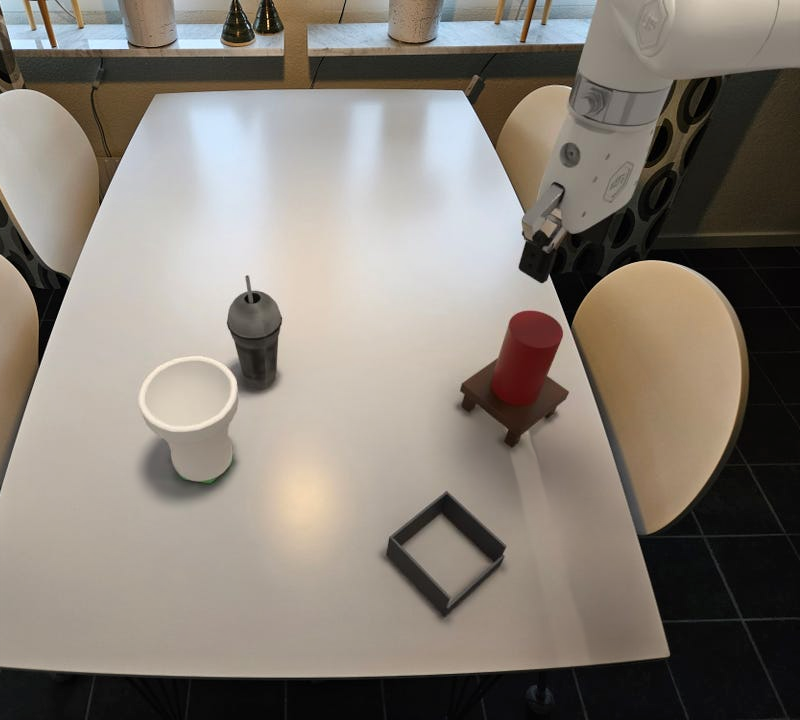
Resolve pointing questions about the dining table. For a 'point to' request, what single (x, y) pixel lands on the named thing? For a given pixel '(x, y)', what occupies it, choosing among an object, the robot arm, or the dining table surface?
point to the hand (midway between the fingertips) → (561, 256)
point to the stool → (507, 414)
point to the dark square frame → (467, 526)
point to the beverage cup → (255, 335)
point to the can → (526, 357)
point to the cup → (192, 414)
